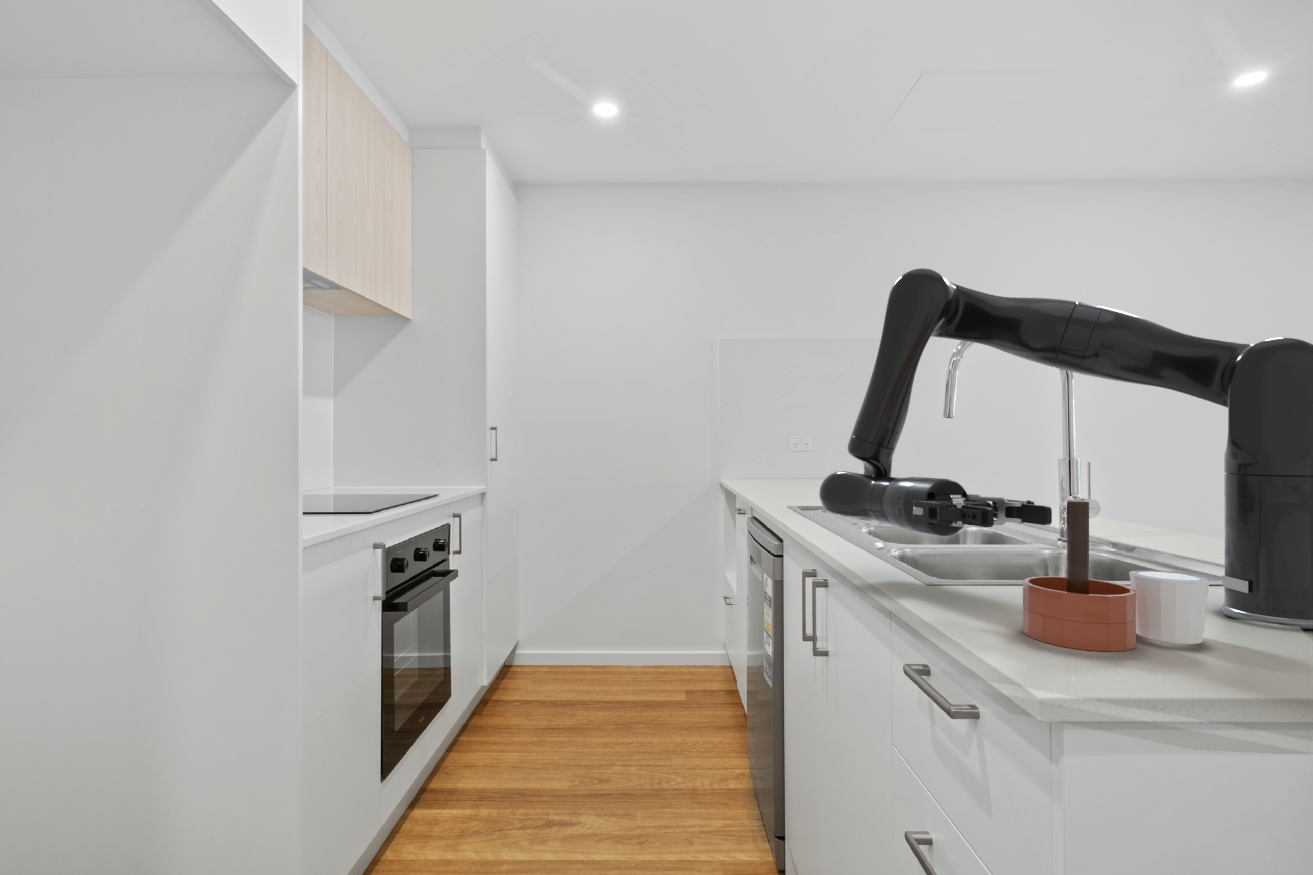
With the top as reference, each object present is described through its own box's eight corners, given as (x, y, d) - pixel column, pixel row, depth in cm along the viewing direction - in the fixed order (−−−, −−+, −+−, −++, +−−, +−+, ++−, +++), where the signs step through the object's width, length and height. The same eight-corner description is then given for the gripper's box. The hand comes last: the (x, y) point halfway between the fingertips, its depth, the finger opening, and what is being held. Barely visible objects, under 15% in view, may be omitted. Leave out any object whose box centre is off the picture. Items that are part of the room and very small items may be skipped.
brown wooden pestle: (1061, 631, 75) (1061, 499, 75) (1096, 636, 73) (1096, 500, 73) (1058, 637, 72) (1058, 501, 72) (1095, 643, 70) (1095, 502, 70)
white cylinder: (1199, 637, 75) (1198, 572, 75) (1219, 654, 68) (1219, 583, 69) (1123, 629, 78) (1123, 567, 78) (1136, 645, 71) (1135, 577, 71)
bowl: (1029, 625, 79) (1029, 572, 79) (1136, 639, 74) (1136, 583, 74) (1017, 645, 71) (1017, 587, 71) (1135, 664, 65) (1135, 600, 65)
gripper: (880, 477, 92) (971, 484, 77) (966, 476, 97) (1068, 483, 82) (880, 534, 92) (971, 552, 77) (966, 530, 97) (1068, 547, 82)
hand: (1021, 516), depth 79 cm, fingers open, 8 cm apart
